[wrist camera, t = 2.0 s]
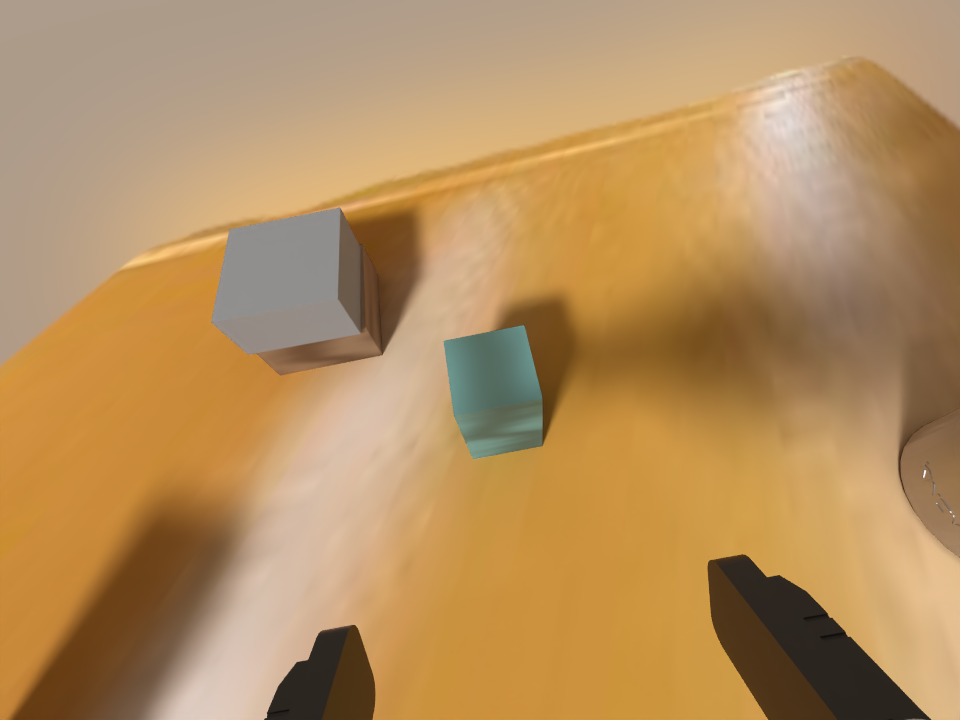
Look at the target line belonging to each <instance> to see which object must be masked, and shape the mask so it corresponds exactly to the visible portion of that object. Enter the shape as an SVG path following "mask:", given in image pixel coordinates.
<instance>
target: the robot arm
mask: <svg viewBox="0 0 960 720" xmlns="http://www.w3.org/2000/svg"><path fill="white" fill-rule="evenodd" d="M900 462H901V479H902V482H903V486H904V489H905V493H906V495H907V497H908V499H909V501H910V503H911V505H912V507H913V509H914V511H915V513H916V514H917V515H918V517H919V518H920V519H921V521H922V522H923V523H924V525H925V526H926V527H927V529H928V530H929V531H930V532H931V533H932V534H933V535H934V536H935V537H936V538H937V539H938V540H939V541H940V542H941V543H942V544H943V545H944V546H945V547H946V548H948V549H949V550H950V551H952V552H953V553H954V554H956V555H957V556H958V557H960V408H959V409H957V410H955V411H953V412H951V413H949V414H947V415H945V416H943V417H941V418H939V419H937V420H935V421H933V422H931V423H929V424H927V425H925V426H923V427H921V428H920V429H919V430H918V431H916V432H915V433H914V434H913V435H912V436H911V437H910V439H909V440H908V442H907V443H906V445H905V446H904V449H903V453H902V457H901V461H900ZM708 580H709V593H710V607H711V617H712V622H713V625H714V629H715V631H716V634H717V637H718V639H719V641H720V643H721V645H722V647H723V648H724V650H725V652H726V653H727V655H728V656H729V658H730V660H731V661H732V663H733V664H734V666H735V668H736V669H737V671H738V672H739V674H740V676H741V677H742V679H743V680H744V682H745V683H746V685H747V687H748V688H749V690H750V691H751V693H752V695H753V696H754V698H755V699H756V701H757V703H758V704H759V706H760V707H761V709H762V710H763V712H764V714H765V715H766V717H767V718H768V720H931V719H930V718H929V717H928V716H927V715H926V714H925V713H924V712H923V711H922V710H921V709H920V708H919V707H918V706H917V705H916V704H915V703H914V702H913V701H912V700H911V699H910V698H909V697H908V696H907V695H906V694H905V693H904V692H903V691H902V690H901V689H900V688H899V687H898V686H897V685H896V684H895V683H894V682H893V681H892V679H891V678H890V677H889V676H888V675H887V674H886V673H885V672H884V671H883V670H882V669H881V668H880V667H879V666H878V665H877V664H876V663H875V662H874V661H873V660H872V659H871V658H870V657H869V656H868V655H867V654H866V653H865V652H864V651H863V649H862V648H861V647H860V646H859V645H858V644H857V643H856V642H855V641H854V640H853V639H852V638H851V637H848V636H847V635H846V632H845V631H844V630H843V629H842V628H841V627H840V626H839V625H838V624H837V623H836V622H835V621H834V619H833V618H829V616H828V613H827V612H826V611H825V610H824V609H823V608H822V607H821V606H820V605H819V604H818V603H817V602H816V601H815V600H814V599H813V598H812V597H811V596H810V595H809V594H808V593H807V592H806V591H805V590H803V589H801V588H800V587H798V586H796V585H795V584H793V583H791V582H790V581H788V580H786V579H785V578H783V577H781V576H780V575H778V576H772V577H766V576H765V575H764V574H763V572H762V571H761V570H760V569H759V568H758V567H757V566H756V565H755V563H754V562H753V561H752V560H751V559H750V558H749V557H748V556H746V555H743V554H742V555H737V556H731V557H726V558H720V559H715V560H710V561H709V562H708ZM374 707H375V682H374V677H373V673H372V670H371V667H370V664H369V661H368V658H367V655H366V652H365V648H364V645H363V642H362V639H361V636H360V633H359V630H358V628H357V627H356V626H355V625H350V626H345V627H339V628H334V629H328V630H323V631H321V632H320V633H319V634H318V636H317V638H316V641H315V643H314V646H313V649H312V651H311V654H310V657H309V659H308V660H306V661H301V662H297V663H296V664H295V665H294V667H293V668H292V669H291V670H290V672H289V673H288V674H287V676H286V677H285V678H284V680H283V681H282V682H281V683H280V685H279V686H278V688H277V691H276V693H275V695H274V698H273V700H272V702H271V705H270V707H269V710H268V712H267V718H265V719H264V720H372V718H373V713H374Z"/></svg>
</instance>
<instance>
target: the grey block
mask: <svg viewBox="0 0 960 720" xmlns="http://www.w3.org/2000/svg"><path fill="white" fill-rule="evenodd" d="M211 323H212V324H214V325H215V326H216V327H217V328H218V329H219V330H220V331H222V332H223V333H224V334H225V335H226V336H227V337H228V338H230V339H231V340H232V341H233V342H234V343H235V344H236V345H238V346H239V347H240V348H241V349H242V350H243V351H244V352H246V353H247V354H248V355H249V354H255V353H260V352H266V351H271V350H276V349H282V348H287V347H293V346H298V345H303V344H309V343H314V342H320V341H325V340H331V339H336V338H341V337H347V336H352V335H358V334H361V248H360V246H359V244H358V242H357V240H356V238H355V236H354V234H353V232H352V230H351V228H350V226H349V224H348V222H347V220H346V218H345V216H344V214H343V212H342V210H341V208H336V209H331V210H326V211H321V212H316V213H311V214H306V215H300V216H295V217H290V218H285V219H280V220H275V221H270V222H265V223H260V224H255V225H250V226H245V227H240V228H234V229H230V230H229V235H228V240H227V245H226V250H225V256H224V261H223V266H222V271H221V276H220V281H219V286H218V291H217V296H216V301H215V306H214V311H213V316H212V321H211Z"/></svg>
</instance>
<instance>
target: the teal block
mask: <svg viewBox="0 0 960 720" xmlns="http://www.w3.org/2000/svg"><path fill="white" fill-rule="evenodd" d="M444 347H445V354H446V361H447V368H448V376H449V383H450V390H451V397H452V404H453V412H454V417H455V419H456V421H457V424H458V426H459V428H460V430H461V433H462V435H463V437H464V439H465V442H466V444H467V446H468V449H469V451H470V453H471V455H472V458H473V459H477V458H482V457H488V456H493V455H498V454H503V453H508V452H514V451H519V450H524V449H529V448H534V447H540V446H542V441H543V398H542V394H541V390H540V386H539V382H538V378H537V374H536V370H535V366H534V362H533V358H532V354H531V350H530V346H529V342H528V338H527V334H526V330H525V326H524V325H522V326H517V327H511V328H506V329H501V330H496V331H491V332H486V333H481V334H476V335H471V336H466V337H461V338H456V339H451V340H446V341H444Z"/></svg>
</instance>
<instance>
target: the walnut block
mask: <svg viewBox="0 0 960 720" xmlns="http://www.w3.org/2000/svg"><path fill="white" fill-rule="evenodd" d="M359 246H360V248H361V334H358V335H352V336H347V337H341V338H336V339H331V340H325V341H320V342H314V343H309V344H303V345H298V346H293V347H287V348H282V349H276V350H271V351H266V352H260V353H256V354H257V355H258V356H259V357H261V358H262V359H263V360H264V361H265V362H266V363H267V364H268V365H269V366H270V367H271V368H273V369H274V370H275V371H276V372H277V373H278V374H279V375H285V374H290V373H295V372H300V371H305V370H310V369H315V368H320V367H325V366H330V365H335V364H340V363H345V362H350V361H355V360H360V359H365V358H370V357H375V356H381V355H382V339H381V322H380V304H379V287H378V274H377V272H376V270H375V268H374V266H373V264H372V262H371V260H370V258H369V256H368V254H367V252H366V249H365V247H364V245H363V244H360V245H359Z"/></svg>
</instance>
